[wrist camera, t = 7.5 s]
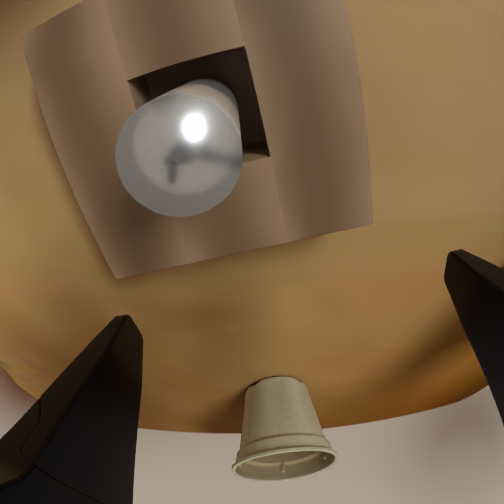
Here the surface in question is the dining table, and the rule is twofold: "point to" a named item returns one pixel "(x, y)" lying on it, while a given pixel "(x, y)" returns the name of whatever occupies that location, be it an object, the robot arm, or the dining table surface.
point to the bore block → (250, 116)
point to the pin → (182, 149)
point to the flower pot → (281, 433)
